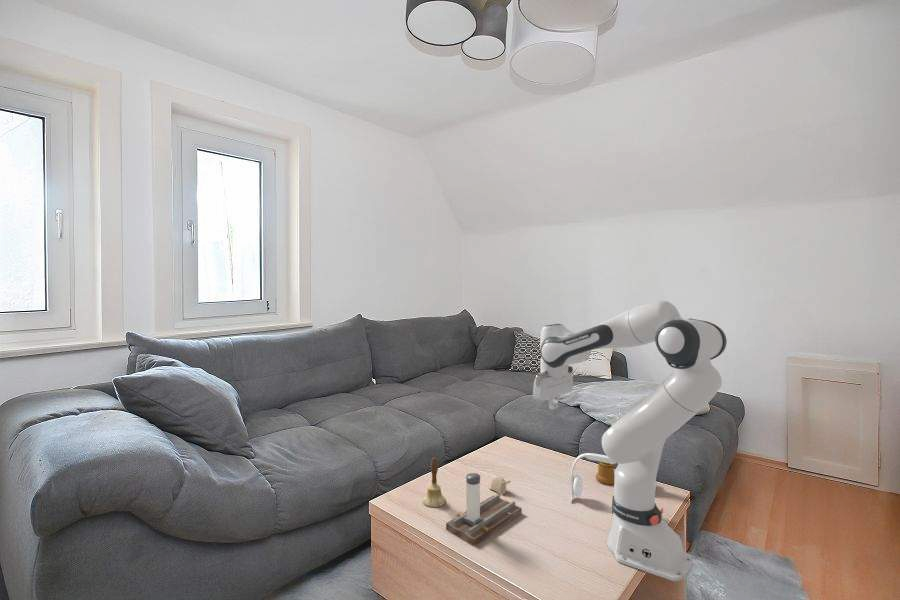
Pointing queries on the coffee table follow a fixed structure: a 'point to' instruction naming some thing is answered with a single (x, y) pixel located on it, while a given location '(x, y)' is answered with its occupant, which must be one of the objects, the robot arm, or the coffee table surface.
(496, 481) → the decorative ornament
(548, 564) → the coffee table surface
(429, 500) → the hand bell
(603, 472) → the ornamental finial
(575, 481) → the headset
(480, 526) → the fader track
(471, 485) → the fader tab
